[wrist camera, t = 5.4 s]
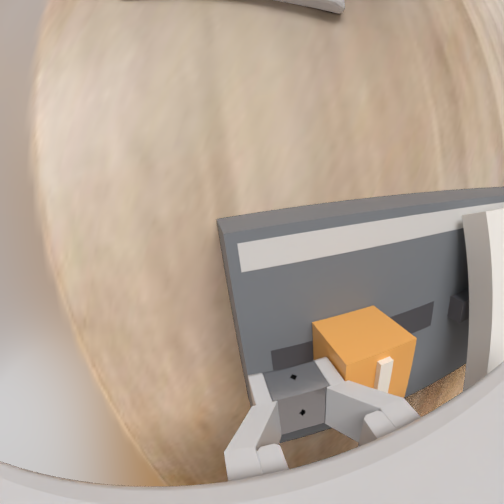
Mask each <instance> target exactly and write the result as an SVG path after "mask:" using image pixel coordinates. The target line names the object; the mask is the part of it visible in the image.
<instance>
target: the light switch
mask: <svg viewBox="0 0 504 504" xmlns="http://www.w3.org/2000/svg"><path fill="white" fill-rule="evenodd" d="M275 1H281V2H286V3H291V4H297V5H302V6H307V7H312V8H317V9H321V10H325V11H330V12H334V13H337V14H340V13H342V12H343V10H344V9H345V3H344V0H275Z"/></svg>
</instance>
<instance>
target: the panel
mask: <svg viewBox="0 0 504 504" xmlns="http://www.w3.org/2000/svg"><path fill="white" fill-rule="evenodd" d="M500 208H504V187H491V188H474V189H460V190H446V191H434V192H423V193H412V194H401V195H391V196H382V197H372V198H363V199H355V200H346V201H338V202H330V203H322V204H314V205H307V206H300V207H292V208H285V209H278V210H271V211H265V212H258V213H251V214H245V215H239V216H232V217H226V218H220V219H217V225H218V231H219V238H220V244H221V250H222V256H223V262H224V268H225V274H226V280H227V286H228V292H229V297H230V303H231V308H232V314H233V320H234V325H235V330H236V336H237V341H238V346H239V352H240V357H241V362H242V367H243V372H244V377H245V382H246V387H247V392H248V397H249V401H250V405H251V407H252V406H253V402H252V397H251V392H250V386H249V381H248V375H253V374H258V373H262V372H268V371H273V370H277V369H282V368H287V367H291V366H295V365H299V364H303V363H307V362H310V361H313V333H312V322H315V321H319V320H323V319H326V318H330V317H334V316H338V315H341V314H345V313H349V312H352V311H356V310H359V309H363V308H366V307H369V306H373V305H374V306H375V307H376V308H378V309H379V310H380V311H382V312H383V313H384V314H386V315H387V316H388V317H390V318H391V319H392V320H394V321H395V322H396V323H398V324H399V325H400V326H402V327H403V328H404V329H405V330H407V331H408V332H409V333H411V334H412V335H413V336H415V337H416V338H417V340H416V346H415V352H414V357H413V362H412V367H411V372H410V376H409V380H408V385H407V389H406V393H405V397H407V396H409V395H411V394H413V393H415V392H417V391H419V390H421V389H423V388H425V387H427V386H429V385H430V384H432V383H434V382H436V381H438V380H439V379H441V378H443V377H445V376H446V375H448V374H450V373H451V372H453V371H455V370H456V369H458V368H459V367H461V366H463V365H464V364H466V362H467V351H468V335H469V281H468V265H467V253H466V244H465V235H464V228H463V221H462V215H466V214H472V213H477V212H483V211H489V210H495V209H500ZM405 397H404V398H405ZM330 428H332V427H330V426H328V425H327V424H325V423H322V424H318V425H315V426H311V427H307V428H303V429H300V430H296V431H293V432H290V433H286V434H282V435H281V439H280V442H279V443H281V442H285V441H289V440H293V439H297V438H300V437H304V436H307V435H311V434H314V433H317V432H320V431H323V430H327V429H330Z"/></svg>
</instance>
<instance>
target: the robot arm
mask: <svg viewBox="0 0 504 504" xmlns="http://www.w3.org/2000/svg"><path fill="white" fill-rule="evenodd" d="M248 381H249V386H250V392H251V397H252V402H253V406H252V407H251V408H250V410H249V412H248V413H247V415H246V417H245V419H244V420H243V422H242V424H241V425H240V427H239V429H238V430H237V432H236V434H235V435H234V437H233V438H232V440H231V442H230V443H229V445H228V446H227V448H226V450H225V451H224V456H225V463H226V470H227V476H228V481H227V482H219V483H210V484H200V485H186V486H151V487H149V486H123V485H108V484H99V483H90V482H83V481H76V480H71V479H65V478H60V477H55V476H50V475H46V474H41V473H37V472H33V471H30V470H26V469H22V468H19V467H16V466H12V465H10V464H7V463H4V462H0V504H504V361H503V362H502V363H501V364H499V365H498V366H497V367H496V368H494V369H493V370H492V371H491V372H489V373H488V374H487V375H485V376H484V377H483V378H481V379H480V380H479V381H477V382H476V383H475V384H473V385H472V386H470V387H469V388H468V389H466V390H465V391H463V392H462V393H460V394H459V395H457V396H456V397H454V398H453V399H451V400H449V401H448V402H446V403H445V404H443V405H441V406H440V407H438V408H436V409H435V410H433V411H431V412H429V413H428V414H426V415H424V416H422V417H420V416H419V414H418V413H417V412H416V411H415V410H414V409H413V408H412V407H411V406H410V404H409V403H408V402H407V401H406V400H405V399H404V398H402V397H399V396H395V395H392V394H389V393H386V392H383V391H379V390H376V389H373V388H370V387H367V386H364V385H361V384H358V383H355V382H352V381H349V380H348V381H344V379H343V378H342V377H341V375H340V374H339V373H338V371H337V370H336V368H335V367H334V366H333V364H332V363H331V362H330V360H329V359H328V358H327V357H323V358H319V359H316V360H313V361H310V362H307V363H303V364H299V365H295V366H291V367H287V368H282V369H277V370H273V371H268V372H262V373H258V374H253V375H248ZM322 423H325V424H327V425H328V426H330V427H332V428H334V429H335V430H337V431H339V432H341V433H342V434H344V435H346V436H348V437H349V438H351V439H353V440H355V441H357V442H359V445H358V447H357V448H354V449H352V450H349V451H346V452H343V453H341V454H338V455H335V456H332V457H329V458H326V459H323V460H320V461H317V462H313V463H310V464H307V465H303V466H300V467H296V468H292V469H289V468H288V466H287V463H286V460H285V457H284V455H283V452H282V449H281V446H280V445H278V444H279V442H280V439H281V435H282V434H286V433H290V432H293V431H296V430H300V429H303V428H307V427H311V426H315V425H318V424H322Z"/></svg>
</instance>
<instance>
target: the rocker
mask: <svg viewBox="0 0 504 504" xmlns="http://www.w3.org/2000/svg"><path fill="white" fill-rule="evenodd" d="M462 221H463V228H464V235H465V244H466V253H467V265H468V281H469V335H468V351H467V362H466V372H465V380H464V387H463V391H465V390H466V389H468V388H469V387H470V386H472V385H473V384H475V383H476V382H477V381H479V380H480V379H481V378H483V377H484V376H485V375H487V374H488V373H489V372H491V371H492V370H493V369H494V368H496V367H497V366H498V365H499V364H501V363H502V362H503V361H504V208H500V209H495V210H489V211H483V212H477V213H472V214H466V215H462Z"/></svg>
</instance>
